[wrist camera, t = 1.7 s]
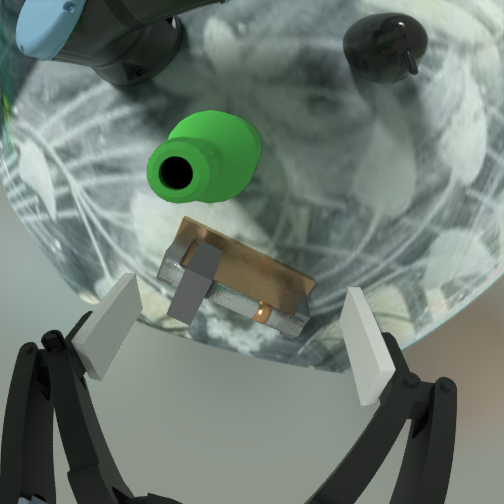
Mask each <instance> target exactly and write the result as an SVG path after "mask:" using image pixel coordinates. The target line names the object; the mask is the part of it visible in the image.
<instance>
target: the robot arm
mask: <svg viewBox="0 0 504 504" xmlns="http://www.w3.org/2000/svg"><path fill="white" fill-rule="evenodd" d="M229 1H231V0H26V2H25V4H24V6H23V8H22V10H21V13H20V16H19V19H18V23H17V28H16V41H17V45H18V48H19V49H20V51H21V52H22V53H24V54H25V55H27V56H31V57H36V58H39V59H41V60H43V61H47V60H52V61H59V62H66V63H73V64H78V65H84V66H89V67H91V68H92V69H93V70H94V71H95V72H96V73H97V74H98V75H99V76H100V77H101V78H102V79H104V80H106V81H108V82H110V83H114V84H119V85H135V84H139V83H142V82H145V81H147V80H149V79H151V78H152V77H154V76H156V75H157V74H158V73H160V72H161V71H162V70H163V69H164V68H165V67H166V66H167V65H168V64H169V63H170V61H171V60H172V59H173V57H174V56H175V54H176V52H177V50H178V48H179V45H180V42H181V37H182V28H181V23H180V21H179V19H178V17H177V16H176V15H179V14H182V13H185V12H188V11H192V10H195V9H198V8H202V7H206V6H209V5H213V4H217V3H220V4H225V3H228V2H229ZM142 309H143V308H142V303H141V299H140V294H139V289H138V284H137V279H136V274H134V273H125V274H124V275H123V276H122V277H121V278H120V279H119V281H118V282H117V283H116V284H115V285H114V287H113V288H112V289H111V290H110V291H109V293H108V294H107V295H106V296H105V298H104V299H103V300H102V301H101V303H100V304H99V305H98V306H97V308H96V309H95V310H94V311H89V312H87V313H86V314H85V315H83V316H82V317H81V319H80V320H79V322H78V323H77V324H76V325H75V327H74V328H73V329H72V330H71V331H70V333H69V334H68V335H67V337H66V338H65V339H64V337H63V335H62V333H61V332H60V331H58V330H51V331H49V332H47V333H45V334H44V335H43V337H42V339H41V343H42V344H43V346H44V348H45V349H38V347H37V345H36V344H35V343H34V342H28V343H26V344H24V345H23V346H22V347H21V348H20V350H19V353H18V356H17V360H16V364H15V367H14V371H13V375H12V380H11V384H10V389H9V394H8V399H7V405H6V410H5V417H4V424H3V434H2V445H1V464H0V465H1V466H0V504H56V489H55V478H54V464H53V414H54V408H55V413H56V418H57V423H58V427H59V431H60V436H61V439H62V443H63V447H64V450H65V454H66V457H67V460H68V463H69V467H70V471H69V472H68V473H67V476H68V480H69V483H70V486H71V488H72V491H73V494H74V496H75V499H76V501H77V503H78V504H182V503H180V502H178V501H175V500H173V499H170V498H166V497H162V496H158V495H154V494H151V493H148V495H147V496H140V497H134V495H133V494H132V492H131V491H130V489H129V488H128V487H127V486H126V484H125V483H124V481H123V479H122V477H121V475H120V473H119V471H118V469H117V467H116V464H115V462H114V460H113V458H112V456H111V453H110V451H109V448H108V446H107V443H106V441H105V438H104V436H103V433H102V430H101V428H100V425H99V422H98V419H97V417H96V414H95V411H94V407H93V404H92V401H91V398H90V394H89V391H88V387H87V384H86V380H85V378H84V376H83V375H84V373H85V372H87V373H88V375H89V377H90V378H92V379H95V380H99V381H102V379H103V377H104V375H105V373H106V371H107V369H108V368H109V366H110V364H111V362H112V360H113V359H114V357H115V355H116V353H117V352H118V350H119V348H120V346H121V344H122V343H123V341H124V339H125V338H126V336H127V334H128V332H129V331H130V329H131V327H132V326H133V324H134V322H135V321H136V319H137V317H138V316H139V314H140V312H141V311H142ZM339 323H340V327H341V330H342V334H343V337H344V341H345V345H346V348H347V352H348V356H349V360H350V363H351V367H352V371H353V375H354V379H355V383H356V387H357V391H358V395H359V400H360V404H361V406H368V405H375V404H376V402H377V401H378V399H380V403H381V405H380V407H379V408H378V410H377V411H376V412H375V414H374V416H373V418H372V419H371V421H370V423H369V424H368V425H367V427H366V428H365V430H364V431H363V433H362V434H361V436H360V437H359V438H358V440H357V441H356V443H355V444H354V445H353V447H352V448H351V450H350V451H349V452H348V453H347V455H346V456H345V458H344V459H343V460H342V461H341V462H340V464H339V465H338V466H337V467H336V469H335V470H334V471H333V472H332V473H331V475H330V476H329V477H328V478H327V480H326V481H325V482H324V483H323V484H322V485H321V486H320V488H319V489H318V490H317V491H316V492H315V493H314V494H313V495H312V496H311V497H310V498H309V499H308V500H307V501H306V502H305V503H304V504H354V503H355V502H356V500H357V499H358V497H359V496H360V495H361V494H362V492H363V491H364V490H365V488H366V487H367V485H368V484H369V482H370V481H371V479H372V478H373V477H374V475H375V474H376V472H377V471H378V469H379V467H380V466H381V464H382V463H383V461H384V459H385V458H386V456H387V454H388V453H389V451H390V449H391V447H392V446H393V444H394V442H395V441H396V439H397V437H398V435H399V433H400V431H401V429H402V428H403V426H404V423H405V422H406V419H412V421H411V426H410V431H409V436H408V440H407V445H406V449H405V453H404V457H403V461H402V465H401V469H400V472H399V475H398V479H397V482H396V485H395V488H394V491H393V494H392V497H391V500H390V503H389V504H444V502H445V498H446V494H447V489H448V484H449V478H450V473H451V467H452V460H453V452H454V444H455V432H456V415H457V387H456V384H455V383H454V382H453V381H452V380H451V379H449V378H447V377H441V378H439V379H438V380H437V381H436V382H435V383H429V382H423V381H421V380H420V378H419V377H418V376H417V375H416V374H414V373H411V372H410V371H409V368H408V366H407V364H406V361H405V359H404V357H403V354H402V352H401V350H400V348H399V347H398V343H397V341H396V339H395V338H394V337H393V336H392V335H391V334H390V333H389V332H385V333H381V332H380V330H379V328H378V326H377V323H376V321H375V319H374V317H373V314H372V312H371V310H370V308H369V306H368V303H367V301H366V299H365V297H364V295H363V293H362V291H361V288H360V287H348V290H347V294H346V298H345V302H344V306H343V310H342V314H341V317H340V321H339Z"/></svg>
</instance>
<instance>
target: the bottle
mask: <svg viewBox="0 0 504 504" xmlns="http://www.w3.org/2000/svg"><path fill="white" fill-rule="evenodd" d="M261 152H262V141H261V138H260V135H259V133H258V131H257V130H256V129H255V127H254V126H253V125H252V124H250V123H249V122H247V121H245V120H244V119H242V118H240V117H237V116H234V115H231V114H228V113H225V112H220V111H215V110H207V111H201V112H196V113H194V114H192V115H190V116H188V117H187V118H185V119H183V120H182V121H180V122H179V123H178V125H177V126H176V127H175V128H174V129H173V131H172V132H171V133H170V135H169V138H168V140H167V141H166V142H164V143H162V144H161V145H160V146H159V147H158V148H157V149H156V150H155V151H154V153H153V154H152V155H151V156H150V158H149V161H148V165H147V179H148V182H149V185H150V187H151V189H152V190H153V191H154V192H155V193H156V194H157V196H159V197H160V198H162V199H164V200H166V201H167V202H172V203H177V204H178V203H187V202H192V201H200V202H205V203H214V202H223V201H226V200H228V199H230V198H232V197H234V196H236V195H238V194H239V193H240V192H241V191H242V190H243V189H244V188H245V187H246V186H247V185H248V184H249V183H250V181H251V178H252V176H253V174H254V172H255V170H256V167H257V165H258V162H259V160H260V157H261Z"/></svg>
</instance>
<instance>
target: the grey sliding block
mask: <svg viewBox="0 0 504 504" xmlns="http://www.w3.org/2000/svg"><path fill="white" fill-rule="evenodd" d="M222 254H223V251H222V250H220V249H217V248H215V247H213V246H211V245H209V244H207V243H205V242H203V241H201V242H200V244H199V246H198V247H197V249H196V251H195V253H194V254H193V256H192V258H191V260H190V262H189V263H188V265H187V267H186V269H185V271H184V274H183V276H182V278H181V281H180V283H179V285H178V288H177V290H176V292H175V295H174V297H173V300H172V302H171V305H170V307H169V309H168V312H167V314H166V315H168V316H170V317H173V318H175V319H177V320H179V321H181V322H183V323H185V324H187V325H191V323H192V321H193V319H194V317H195V315H196V313H197V311H198V309H199V307H200V305H201V303H202V301H203V299H204V297H205V295H206V293H207V291H208V289H209V287H210V285H211V283H212V281H213V279H214V276H215V273H216V270H217V267H218V265H219V262H220V259H221V256H222Z"/></svg>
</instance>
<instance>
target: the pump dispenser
mask: <svg viewBox="0 0 504 504" xmlns="http://www.w3.org/2000/svg"><path fill="white" fill-rule="evenodd" d="M428 46H429V39H428V35H427V32H426V30H425V28H424V27H423V25H422V24H421V23H420V22H419V21H418V20H416V19H415V18H413V17H411V16H409V15H407V14H404V13H399V12H380V13H375V14H371V15H368V16H366V17H364V18H362V19H360V20H358V21H356V22H355V23H354V24H352V25H351V26H350V27H349V28H348V29H347V31H346V33H345V35H344V38H343V50H344V54H345V56H346V58H347V60H348V62H349V64H350V65H351V67H352V68H353V69H354V70H355V71H356V72H357V73H358V74H360V75H361V76H362V77H364V78H366V79H367V80H369V81H372V82H374V83H378V84H393V83H397V82H399V81H401V80H403V79H405V78H406V77H408V76H409V75H411V74H412V75H416V74H418V67H419V65H420V64H421V63H422V61H423V60H424V58H425V56H426V54H427V51H428Z"/></svg>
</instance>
